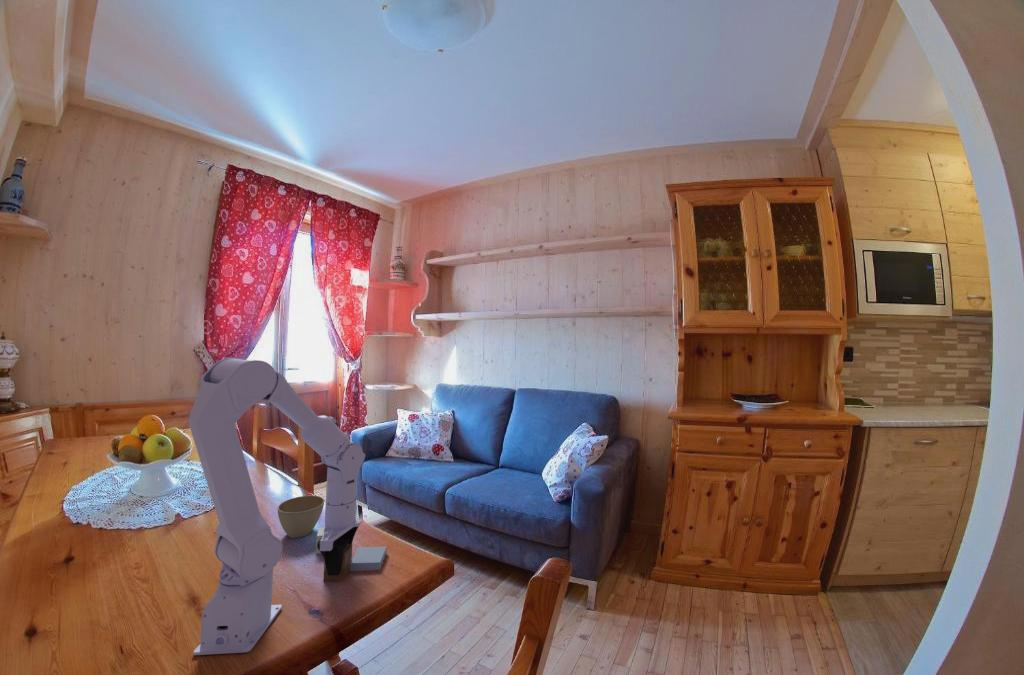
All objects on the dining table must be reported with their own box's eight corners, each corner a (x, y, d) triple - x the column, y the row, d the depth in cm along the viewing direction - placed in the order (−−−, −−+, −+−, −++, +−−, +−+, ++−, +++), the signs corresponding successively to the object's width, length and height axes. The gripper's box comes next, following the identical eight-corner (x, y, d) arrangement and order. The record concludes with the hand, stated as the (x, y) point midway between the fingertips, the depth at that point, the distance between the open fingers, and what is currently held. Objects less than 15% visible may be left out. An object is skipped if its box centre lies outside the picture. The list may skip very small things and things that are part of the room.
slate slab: (379, 572, 74) (379, 562, 74) (349, 573, 74) (350, 563, 74) (386, 555, 80) (386, 546, 80) (358, 556, 80) (359, 547, 80)
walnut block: (344, 580, 71) (345, 554, 71) (323, 581, 70) (324, 555, 70) (351, 567, 75) (352, 543, 75) (331, 568, 74) (332, 544, 74)
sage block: (335, 551, 81) (336, 533, 81) (315, 554, 79) (316, 536, 79) (337, 542, 84) (338, 525, 84) (318, 544, 83) (319, 527, 83)
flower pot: (301, 546, 82) (303, 515, 82) (265, 540, 84) (267, 509, 84) (332, 525, 92) (333, 497, 92) (298, 520, 94) (300, 493, 94)
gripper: (349, 516, 66) (346, 590, 66) (371, 485, 81) (368, 546, 80) (309, 516, 65) (305, 592, 65) (339, 486, 80) (336, 547, 79)
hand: (338, 567), depth 72 cm, fingers closed on walnut block, 4 cm apart
